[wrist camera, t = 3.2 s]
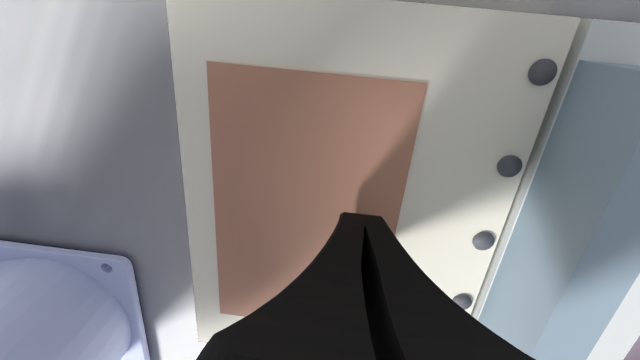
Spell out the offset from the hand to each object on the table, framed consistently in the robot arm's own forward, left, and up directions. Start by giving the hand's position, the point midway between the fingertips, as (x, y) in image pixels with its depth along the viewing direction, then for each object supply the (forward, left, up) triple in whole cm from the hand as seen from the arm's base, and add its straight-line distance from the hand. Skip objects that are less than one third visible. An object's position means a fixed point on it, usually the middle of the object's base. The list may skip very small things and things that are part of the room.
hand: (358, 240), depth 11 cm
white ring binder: (-1, 0, -3) cm, 3 cm away
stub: (+8, 0, -3) cm, 9 cm away
